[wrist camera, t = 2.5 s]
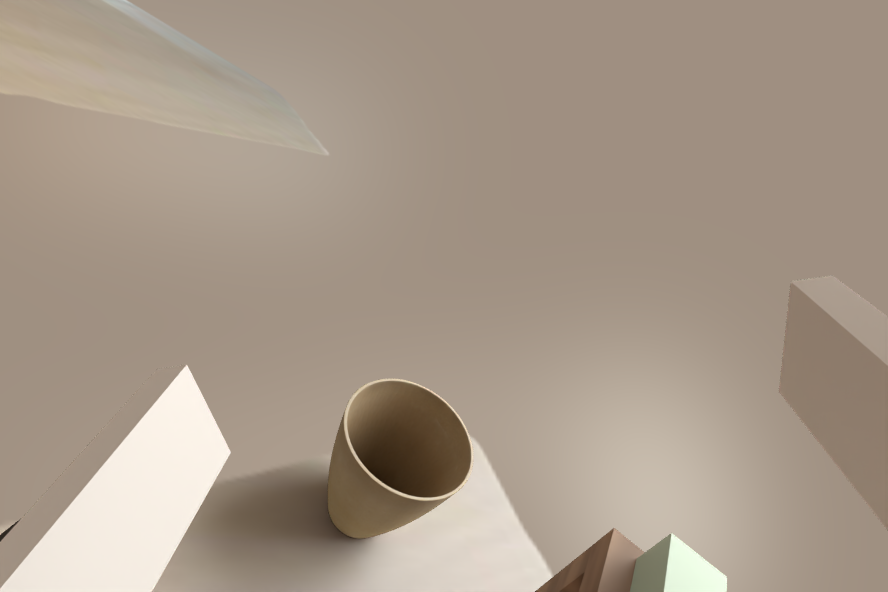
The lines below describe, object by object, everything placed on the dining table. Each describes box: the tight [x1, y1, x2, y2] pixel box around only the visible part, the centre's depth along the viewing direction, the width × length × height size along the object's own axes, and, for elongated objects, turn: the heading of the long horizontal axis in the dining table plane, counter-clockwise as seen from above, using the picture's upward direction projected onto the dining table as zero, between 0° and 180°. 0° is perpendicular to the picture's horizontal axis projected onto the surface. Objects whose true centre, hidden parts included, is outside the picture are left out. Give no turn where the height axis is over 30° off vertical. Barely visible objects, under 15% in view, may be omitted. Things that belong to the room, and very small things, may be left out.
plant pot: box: [328, 379, 473, 539], centre depth 61 cm, size 15×15×16 cm
